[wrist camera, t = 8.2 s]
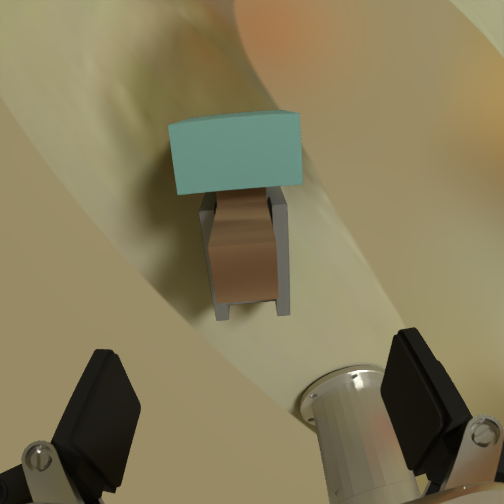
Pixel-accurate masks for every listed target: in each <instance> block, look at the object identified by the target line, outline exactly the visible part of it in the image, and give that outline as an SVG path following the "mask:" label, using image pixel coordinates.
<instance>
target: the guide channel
mask: <svg viewBox="0 0 504 504" xmlns="http://www.w3.org/2000/svg"><path fill="white" fill-rule="evenodd" d="M266 201H267V205H268V209H269V213H270V217H271V222H272V226H273V230H274V234H275V239H276V247H277V269H278V292H279V299H269V300H257V301H244V302H231V303H217V302H216V296H215V290H214V284H213V278H212V272H211V265H210V259H209V252H208V244H209V240H210V235H211V231H212V226H213V222H214V217H215V213H216V209H217V198H216V191H213V192H206V194H205V196H204V199H203V202H202V204H201V207H200V210H199V217H200V224H201V231H202V237H203V244H204V250H205V257H206V263H207V269H208V275H209V281H210V287H211V293H212V299H213V305H214V311H215V316H216V321H222V320H229V309H230V304H244V303H256V302H268V301H275V303H276V310H277V316H285V315H290V274H289V238H288V210H287V202H286V200H285V198H284V195H283V193H282V191H281V188H280V186H271V187H266Z"/></svg>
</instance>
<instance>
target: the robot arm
mask: <svg viewBox="0 0 504 504" xmlns="http://www.w3.org/2000/svg"><path fill="white" fill-rule="evenodd" d="M140 410H141V405H140V402H139V400H138V398H137V396H136V394H135V391H134V389H133V387H132V385H131V383H130V381H129V379H128V376H127V374H126V372H125V370H124V367H123V366H122V363H121V361H120V358H119V356H118V355H117V354H115V353H114V352H113V351H112V350H109V349H96V350H95V351H94V353H93V355H92V357H91V359H90V361H89V363H88V364H87V366H86V368H85V370H84V372H83V374H82V376H81V378H80V380H79V382H78V384H77V386H76V388H75V390H74V392H73V394H72V397H71V399H70V401H69V403H68V405H67V407H66V409H65V411H64V414H63V416H62V418H61V420H60V422H59V425H58V427H57V429H56V431H55V433H54V436H53V438H52V441H51V443H49V442H46V441H36V442H33V443H31V444H30V445H28V446H27V447H26V449H25V450H24V452H23V454H22V459H21V460H22V464H20V465H18V466H16V467H14V468H12V469H10V470H7V471H5V472H3V473H1V474H0V504H104V502H103V500H102V498H101V496H102V492H103V491H106V492H111V493H115V492H116V488H117V487H119V486H120V485H121V483H122V479H123V475H124V471H125V467H126V463H127V459H128V455H129V452H130V448H131V444H132V440H133V437H134V433H135V429H136V426H137V422H138V419H139V415H140ZM300 412H301V415H302V417H303V419H304V420H305V421H306V422H308V423H309V424H311V425H313V426H316V431H317V436H318V442H319V447H320V451H321V458H322V463H323V468H324V474H325V480H326V485H327V490H328V496H329V502H330V504H504V430H503V426H502V425H501V423H500V422H499V421H498V420H497V419H496V418H494V417H492V416H490V415H478V416H476V417H474V418H473V417H472V415H471V413H470V412H469V410H468V408H467V406H466V404H465V402H464V401H463V399H462V397H461V395H460V394H459V392H458V390H457V389H456V387H455V385H454V383H453V382H452V380H451V378H450V377H449V375H448V374H447V372H446V370H445V368H444V367H443V366H442V364H441V363H440V361H438V360H436V358H435V356H434V355H433V353H432V352H431V350H430V348H429V347H428V345H427V344H426V342H425V341H424V339H423V337H422V336H421V334H420V333H419V331H418V330H417V329H416V328H414V327H413V328H408V329H402V330H399V331H398V334H397V335H394V337H393V340H392V345H391V349H390V353H389V357H388V361H387V365H386V369H385V371H384V370H383V369H381V368H378V367H374V366H353V367H348V368H344V369H340V370H338V371H335V372H332V373H330V374H328V375H326V376H324V377H322V378H321V379H319V380H318V381H316V382H315V383H314V384H312V385H311V386H310V387H309V388H308V389H307V390H306V391H305V393H304V394H303V396H302V398H301V400H300ZM425 473H426V475H427V478H428V480H429V481H428V484H427V486H426V488H425V491H424V492H423V494H422V496H421V494H420V491H419V488H418V485H417V482H416V479H415V477H416V476H419V475H422V474H425Z"/></svg>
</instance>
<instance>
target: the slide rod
mask: <svg viewBox="0 0 504 504" xmlns="http://www.w3.org/2000/svg"><path fill="white" fill-rule="evenodd" d="M216 198H217V209H216V213H215V217H214V222H213V226H212V231H211V235H210V240H209V244H208V252H209V259H210V265H211V272H212V278H213V284H214V290H215V296H216V302H217V303H231V302H244V301H257V300H269V299H279V292H278V269H277V247H276V239H275V234H274V230H273V226H272V222H271V217H270V213H269V209H268V205H267V201H266V187H258V188H245V189H234V190H223V191H216Z"/></svg>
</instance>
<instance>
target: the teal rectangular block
mask: <svg viewBox="0 0 504 504" xmlns="http://www.w3.org/2000/svg"><path fill="white" fill-rule="evenodd" d="M168 129H169V137H170V145H171V152H172V160H173V167H174V174H175V181H176V187H177V194H178V195H184V194H193V193H203V192H213V191H223V190H234V189H245V188H258V187H271V186H285V185H301V184H303V174H302V149H301V129H300V113H296V112H291V111H285V110H272V111H256V112H243V113H232V114H222V115H212V116H204V117H196V118H190V119H186V120H183V121H180V122H177V123H173V124H170V125H168Z"/></svg>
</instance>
